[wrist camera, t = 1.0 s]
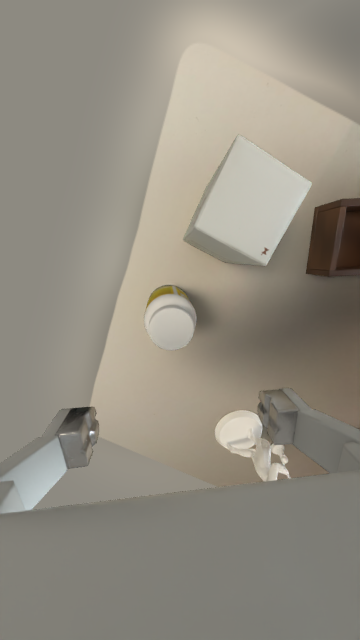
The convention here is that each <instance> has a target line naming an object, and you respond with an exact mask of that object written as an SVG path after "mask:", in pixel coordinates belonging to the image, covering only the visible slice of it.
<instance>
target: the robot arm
mask: <svg viewBox="0 0 360 640" xmlns="http://www.w3.org/2000/svg"><path fill="white" fill-rule="evenodd" d="M258 398H259V400H260V401H261V402H260V403H259V405H258V416H259V419H260V421H261V423H262V425H263V426H264V427H266V428H267V429H268V431H267V433H268V435H269V437H270V438H271V440H272V442H273V443H274V445H285V444H293V445H294V446H295V447H296V448H298V449H299V450H300V451H302V452H303V453H304V454H306V455H307V456H308V457H310V458H311V459H312V460H313V461H315V462H316V463H317V464H319V465H320V466H321V467H323V468H324V469H325V470H327V471H328V472H329V473H330V474H322V475H314V476H306V477H298V478H289V479H281V480H273V481H265V482H256V483H248V484H240V485H232V486H223V487H215V488H207V489H199V490H190V491H182V492H174V493H166V494H158V495H149V496H141V497H133V498H125V499H117V500H108V501H100V502H92V503H84V504H76V505H68V506H59V507H51V508H43V509H35V510H32V508H33V507H34V506H35V505H36V504H37V503H38V502H39V501H40V500H41V499H42V498H43V496H44V495H45V494H46V493H47V492H48V491H49V490H50V489H51V488H52V487H53V486H54V484H55V483H56V482H57V481H58V480H59V479H60V478H61V477H62V476H63V475H64V474H65V472H66V471H67V470H68V469H70V468H78V467H85V466H88V465H89V462H90V459H91V456H92V453H93V449H92V447H93V445H95V443H97V440H98V436H99V423H98V421H97V420H96V419H95V416H96V414H97V413H96V409H95V407H82V408H70V409H61V410H60V411H59V412H58V413H57V415H56V416H55V417H54V419H53V420H52V422H51V424H50V425H49V426H48V428H47V429H46V431H45V432H44V434H43V435H42V437H38V438H36V439H35V440H33V441H32V442H30V443H29V444H28V445H26V446H25V447H23V448H22V449H20V450H19V451H17V452H16V453H14V454H13V455H12V456H10V457H9V458H7V459H6V460H4V461H3V462H1V463H0V640H360V430H359V429H357V428H355V427H353V426H350V425H348V424H346V423H344V422H342V421H339V420H337V419H335V418H333V417H331V416H329V415H326V414H324V413H322V412H320V411H318V410H316V409H314V410H312V409H311V408H310V407H309V406H308V405H307V404H306V403H305V402H304V401H303V400H302V399H301V398H300V397H299V396H298V395H297V394H296V393H295V392H294V391H293V390H292V389H291V388H282V389H276V390H266V391H260V392H259V397H258Z"/></svg>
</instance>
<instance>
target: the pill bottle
mask: <svg viewBox="0 0 360 640" xmlns="http://www.w3.org/2000/svg"><path fill="white" fill-rule="evenodd" d="M196 322H197V316H196V312H195V309H194V307H193V305H192V304H191V302H190V300H189V299H188V297H187V295H186V294H185V293H184V292H183V291H182V290H181V289H180V288H178V287H176V286H173V285H164V286H161V287H159V288H157V289H156V290H154V291H153V293H152V294H151V296H150V297H149V300H148V303H147V307H146V310H145V314H144V325H145V329H146V331H147V333H148V334H149V336H150V338H151V340H152V341H153V342H154V344H156V345H157V346H158V347H160V348H162V349H165V350H178V349H181V348H183V347H184V346H186V345H187V344H188V343H189V342H190V340H191V339H192V337H193V334H194V330H195V327H196Z"/></svg>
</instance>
